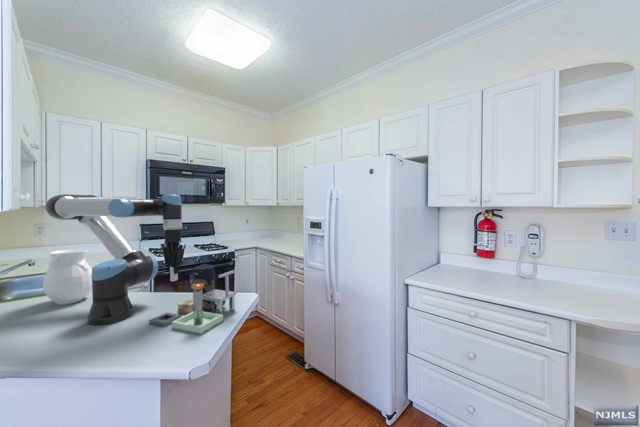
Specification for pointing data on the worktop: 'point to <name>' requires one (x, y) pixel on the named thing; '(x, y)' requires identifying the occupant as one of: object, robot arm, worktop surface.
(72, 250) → the white vase
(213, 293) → the trolley
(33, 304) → the worktop surface
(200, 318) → the pin
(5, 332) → the worktop surface
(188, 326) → the tray
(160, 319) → the collar
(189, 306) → the block
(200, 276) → the canister
